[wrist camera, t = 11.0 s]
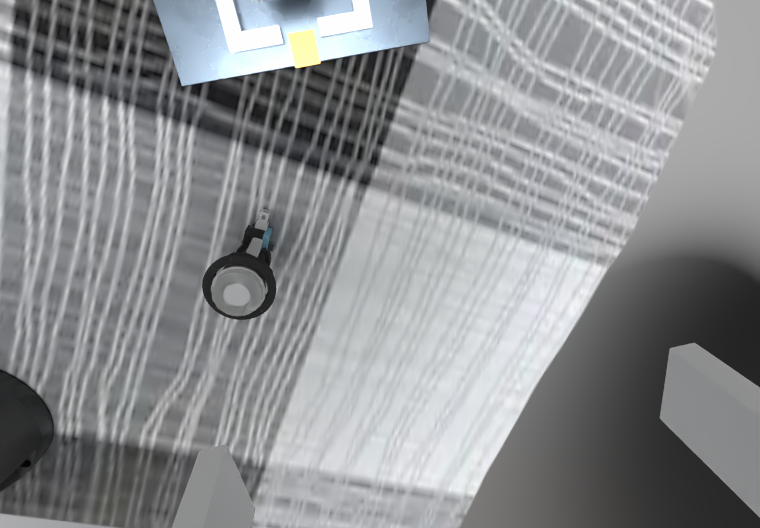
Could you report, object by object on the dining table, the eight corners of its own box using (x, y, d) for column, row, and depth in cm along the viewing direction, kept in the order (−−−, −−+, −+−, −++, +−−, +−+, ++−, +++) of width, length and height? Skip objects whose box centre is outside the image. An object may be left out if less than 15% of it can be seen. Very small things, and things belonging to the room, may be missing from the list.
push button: (238, 199, 37) (208, 235, 28) (296, 216, 38) (286, 255, 29) (224, 264, 39) (192, 317, 30) (279, 278, 41) (265, 333, 31)
